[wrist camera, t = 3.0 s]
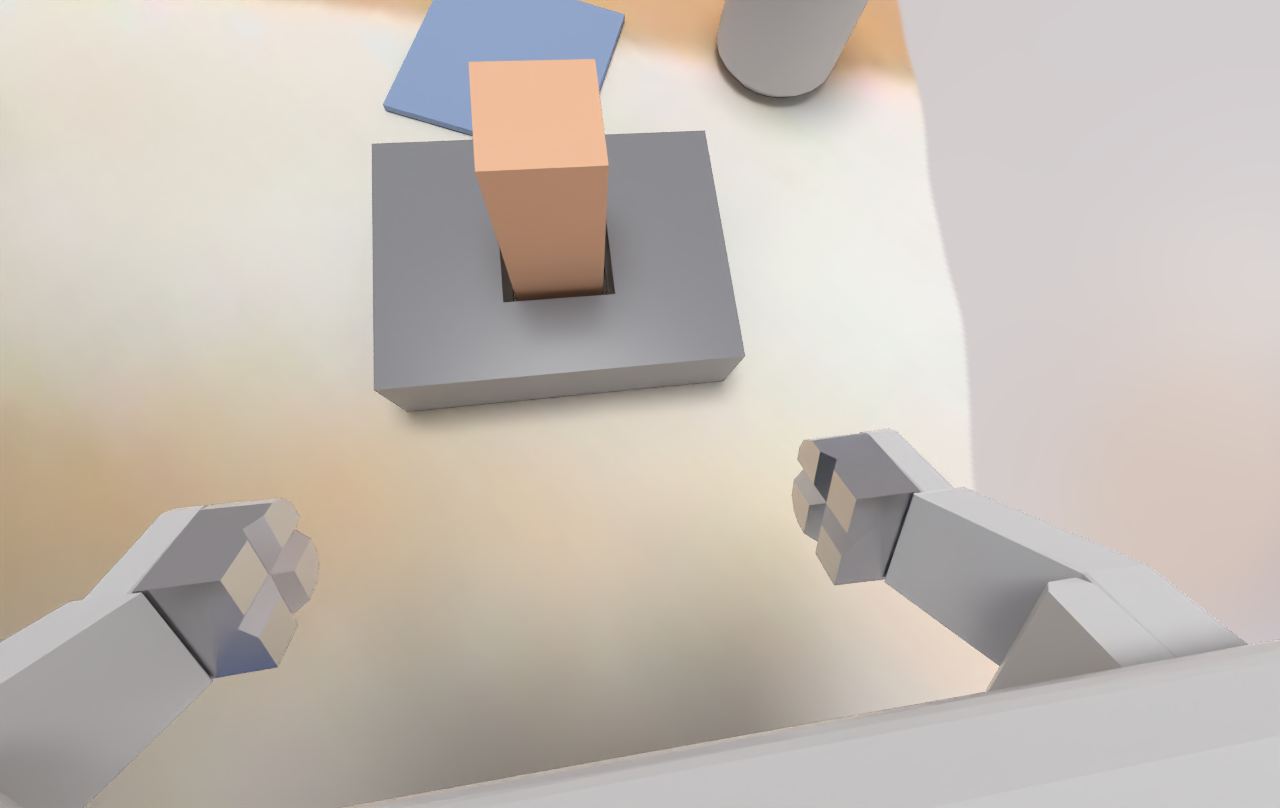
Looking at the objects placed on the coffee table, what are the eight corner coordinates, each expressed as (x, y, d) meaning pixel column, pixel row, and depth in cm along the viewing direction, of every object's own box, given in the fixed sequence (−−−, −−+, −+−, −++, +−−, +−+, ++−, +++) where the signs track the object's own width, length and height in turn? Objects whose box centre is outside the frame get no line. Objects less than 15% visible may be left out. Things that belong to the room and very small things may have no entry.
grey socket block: (407, 411, 25) (374, 390, 22) (402, 197, 28) (371, 143, 24) (723, 380, 27) (744, 355, 23) (690, 182, 30) (704, 130, 26)
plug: (525, 325, 27) (475, 171, 15) (519, 256, 28) (468, 61, 16) (601, 319, 28) (608, 165, 16) (593, 251, 28) (594, 58, 17)
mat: (385, 110, 29) (383, 104, 29) (453, -31, 32) (451, -38, 32) (573, 164, 30) (573, 160, 29) (624, 20, 32) (624, 14, 32)
